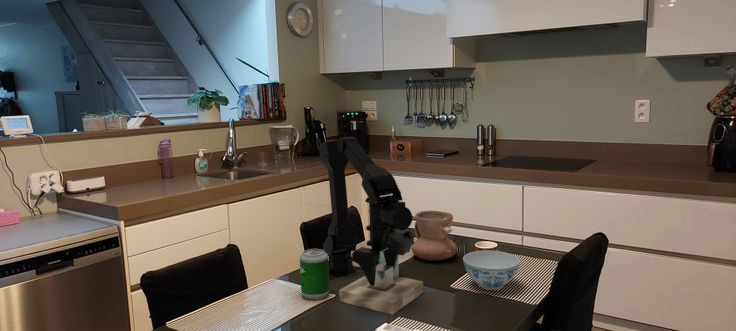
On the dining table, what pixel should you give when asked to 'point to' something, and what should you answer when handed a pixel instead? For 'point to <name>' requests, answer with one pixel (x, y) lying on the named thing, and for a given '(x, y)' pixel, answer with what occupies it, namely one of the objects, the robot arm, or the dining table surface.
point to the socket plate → (382, 294)
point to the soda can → (314, 274)
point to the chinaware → (491, 268)
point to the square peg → (383, 278)
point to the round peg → (382, 261)
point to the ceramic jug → (433, 235)
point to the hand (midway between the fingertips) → (381, 279)
